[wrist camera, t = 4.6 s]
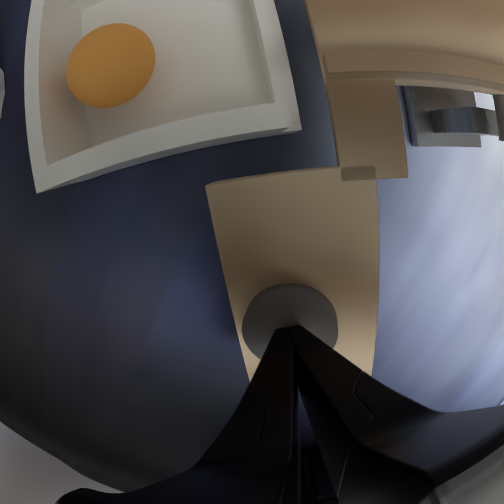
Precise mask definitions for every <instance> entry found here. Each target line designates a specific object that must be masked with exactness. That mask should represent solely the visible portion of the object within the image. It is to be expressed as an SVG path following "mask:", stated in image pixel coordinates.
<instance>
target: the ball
mask: <svg viewBox="0 0 504 504" xmlns="http://www.w3.org/2000/svg"><path fill="white" fill-rule="evenodd" d="M154 67H155V50H154V47H153V44H152V42H151V40H150V39H149V37H148V36H147V35H146V34H145V33H144V32H143V31H142V30H140V29H139V28H137V27H135V26H132V25H129V24H124V23H114V24H108V25H104V26H101V27H98V28H96V29H94V30H93V31H91V32H89V33H88V34H87V35H85V36H84V37H83V38H82V39H81V40H80V41H79V42H78V43H77V44H76V46H75V47H74V49H73V50H72V52H71V54H70V56H69V59H68V62H67V67H66V78H67V83H68V86H69V89H70V91H71V92H72V94H73V95H74V96H75V97H76V98H77V99H78V100H79V101H80V102H82V103H84V104H86V105H88V106H91V107H95V108H111V107H115V106H119V105H122V104H124V103H126V102H128V101H130V100H131V99H133V98H134V97H135V96H137V95H138V94H139V93H140V92H141V91H142V90H143V89H144V87H145V86H146V85H147V83H148V82H149V80H150V78H151V76H152V73H153V71H154Z"/></svg>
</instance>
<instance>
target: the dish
mask: <svg viewBox="0 0 504 504" xmlns="http://www.w3.org/2000/svg"><path fill="white" fill-rule="evenodd" d="M114 23H124V24H129V25H132V26H135V27H137V28H139V29H140V30H142V31H143V32H144V33H145V34H146V35H147V36H148V37H149V39H150V40H151V42H152V44H153V47H154V50H155V67H154V71H153V73H152V76H151V78H150V80H149V82H148V83H147V85H146V86H145V87H144V89H143V90H142V91H141V92H140V93H139V94H138V95H137V96H135V97H134V98H133V99H131V100H130V101H128V102H126V103H124V104H122V105H119V106H115V107H111V108H95V107H91V106H88V105H86V104H84V103H82V102H80V101H79V100H78V99H77V98H76V97H75V96H74V95H73V94H72V92H71V91H70V89H69V86H68V83H67V78H66V67H67V62H68V59H69V56H70V54H71V52H72V50H73V49H74V47H75V46H76V44H77V43H78V42H79V41H80V40H81V39H82V38H83V37H84V36H85V35H87V34H88V33H89V32H91V31H93V30H94V29H96V28H98V27H101V26H104V25H108V24H114ZM24 96H25V116H26V129H27V138H28V147H29V154H30V161H31V167H32V173H33V178H34V183H35V188H36V193H41V192H44V191H48V190H51V189H55V188H58V187H62V186H66V185H70V184H73V183H77V182H81V181H86V180H89V179H92V178H95V177H98V176H101V175H104V174H107V173H110V172H113V171H116V170H120V169H123V168H126V167H130V166H133V165H137V164H140V163H144V162H147V161H151V160H155V159H159V158H163V157H167V156H171V155H175V154H179V153H183V152H188V151H192V150H197V149H201V148H206V147H211V146H216V145H221V144H226V143H232V142H238V141H243V140H249V139H256V138H262V137H269V136H277V135H284V134H293V133H295V132H298V131H300V130H302V128H301V122H300V116H299V111H298V105H297V100H296V95H295V89H294V84H293V79H292V75H291V70H290V65H289V60H288V56H287V51H286V47H285V43H284V38H283V34H282V30H281V26H280V22H279V18H278V14H277V10H276V7H275V3H274V0H32V2H31V8H30V14H29V20H28V28H27V37H26V49H25V68H24Z"/></svg>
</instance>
